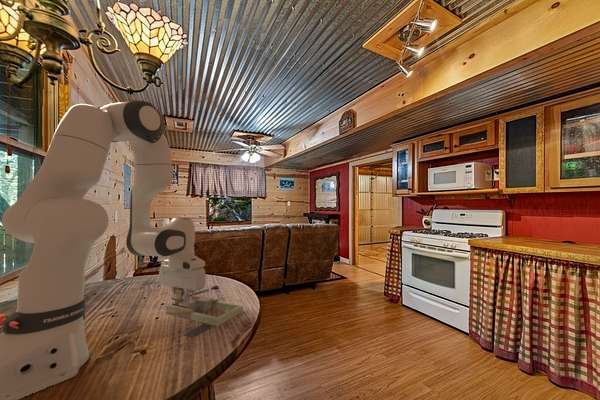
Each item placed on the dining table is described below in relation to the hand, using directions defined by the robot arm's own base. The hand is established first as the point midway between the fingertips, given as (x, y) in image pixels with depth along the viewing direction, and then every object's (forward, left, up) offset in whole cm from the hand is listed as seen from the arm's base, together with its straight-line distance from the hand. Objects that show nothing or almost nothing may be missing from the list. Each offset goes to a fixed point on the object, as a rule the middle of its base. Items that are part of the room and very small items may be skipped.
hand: (180, 299), depth 94 cm
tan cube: (-2, -6, -3) cm, 7 cm away
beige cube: (+3, -9, -3) cm, 10 cm away
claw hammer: (+15, +6, -4) cm, 17 cm away
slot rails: (0, -6, -3) cm, 7 cm away
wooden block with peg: (0, 0, -3) cm, 3 cm away
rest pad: (-11, -20, -3) cm, 23 cm away
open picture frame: (0, -17, -3) cm, 17 cm away
